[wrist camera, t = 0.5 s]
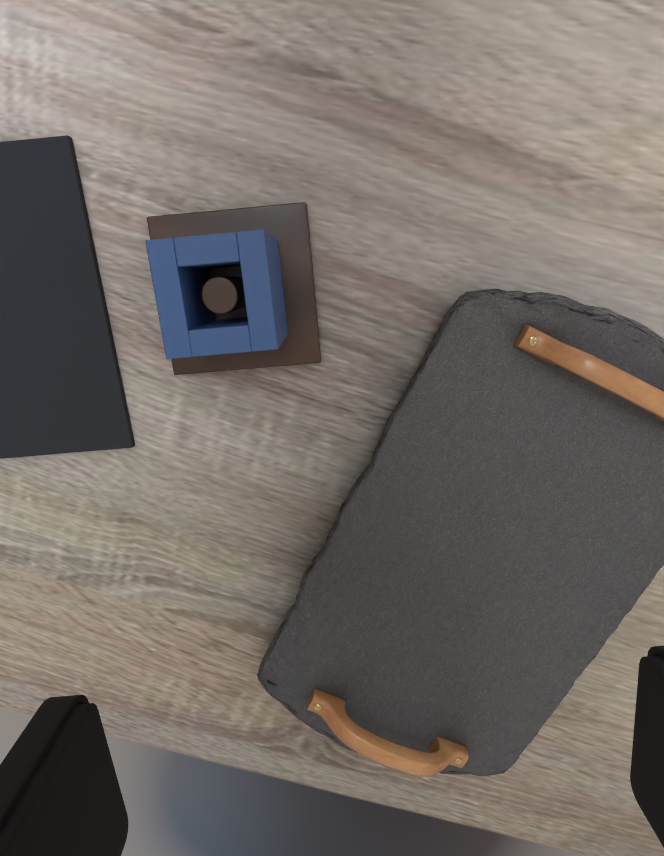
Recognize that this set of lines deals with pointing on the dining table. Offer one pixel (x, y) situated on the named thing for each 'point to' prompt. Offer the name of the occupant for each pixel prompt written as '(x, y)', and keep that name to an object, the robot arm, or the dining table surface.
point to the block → (185, 277)
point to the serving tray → (484, 539)
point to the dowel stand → (227, 284)
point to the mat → (53, 312)
